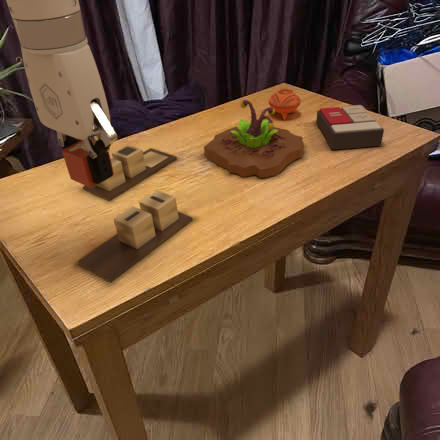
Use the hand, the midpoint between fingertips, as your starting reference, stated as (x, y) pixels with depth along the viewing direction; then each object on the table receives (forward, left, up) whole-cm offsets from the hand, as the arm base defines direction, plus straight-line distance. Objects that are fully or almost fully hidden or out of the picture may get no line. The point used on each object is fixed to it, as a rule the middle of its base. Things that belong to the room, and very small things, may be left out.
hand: (91, 173), depth 62 cm
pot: (-5, +62, -15) cm, 64 cm away
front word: (+1, +4, -15) cm, 15 cm away
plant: (0, +41, -15) cm, 44 cm away
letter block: (0, 0, -1) cm, 1 cm away
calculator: (+13, +60, -15) cm, 64 cm away
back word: (-17, +20, -15) cm, 30 cm away
